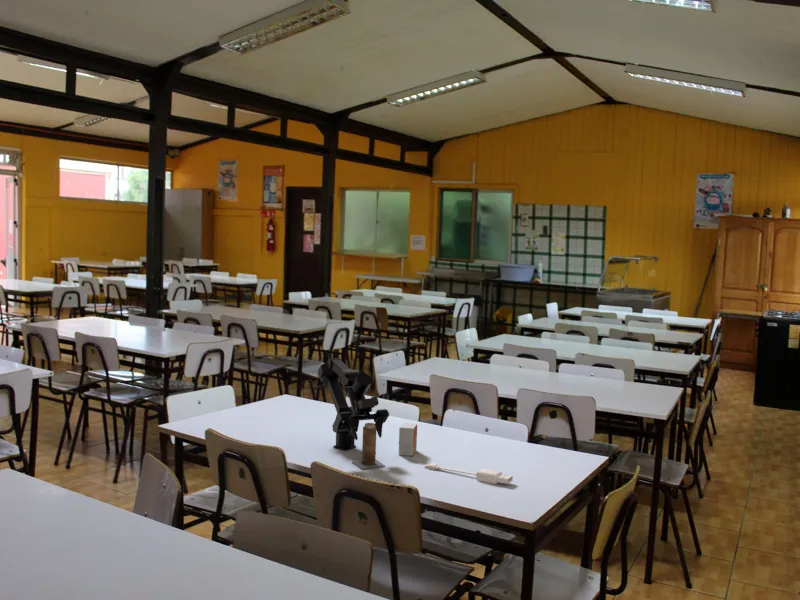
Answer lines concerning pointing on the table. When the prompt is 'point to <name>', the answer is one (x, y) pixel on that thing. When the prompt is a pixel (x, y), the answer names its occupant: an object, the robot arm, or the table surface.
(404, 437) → the small box
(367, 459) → the pepper mill
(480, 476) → the charging cable
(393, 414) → the table surface
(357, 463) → the coaster
